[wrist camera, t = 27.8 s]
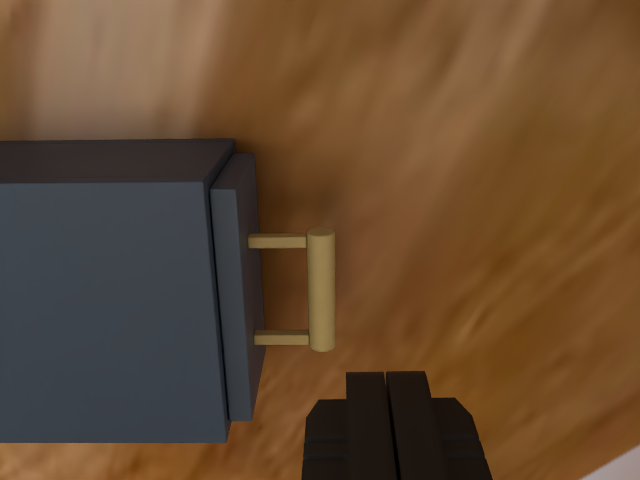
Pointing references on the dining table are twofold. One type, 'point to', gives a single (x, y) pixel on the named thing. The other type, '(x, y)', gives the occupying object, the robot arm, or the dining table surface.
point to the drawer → (260, 283)
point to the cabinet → (110, 292)
